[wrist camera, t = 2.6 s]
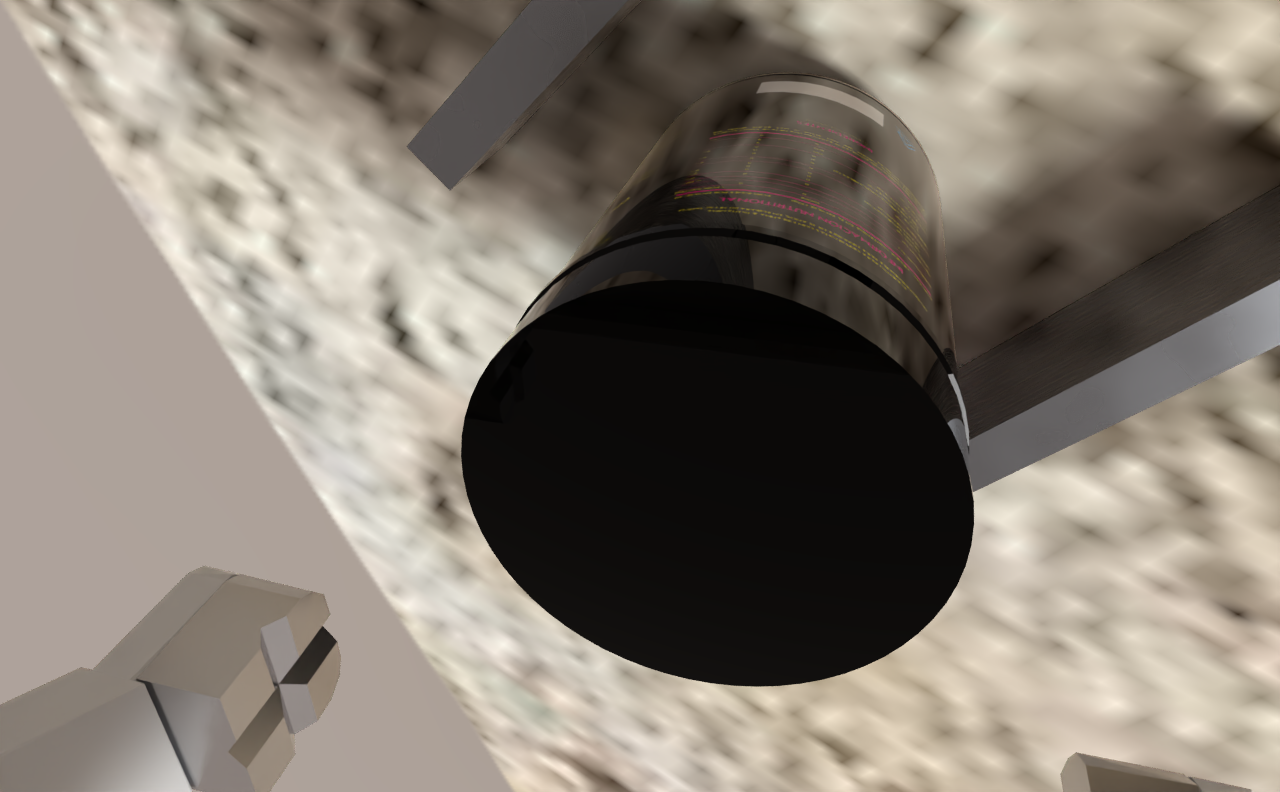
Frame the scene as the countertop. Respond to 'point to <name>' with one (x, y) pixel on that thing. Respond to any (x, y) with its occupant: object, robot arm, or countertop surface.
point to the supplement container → (740, 400)
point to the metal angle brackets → (1010, 373)
